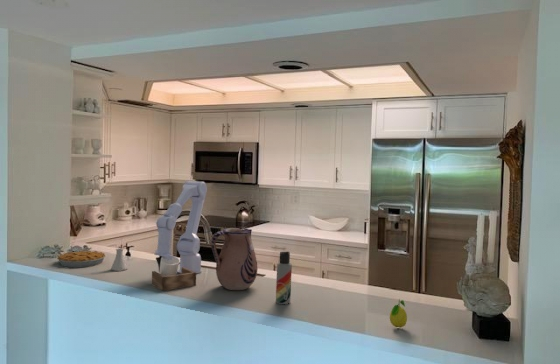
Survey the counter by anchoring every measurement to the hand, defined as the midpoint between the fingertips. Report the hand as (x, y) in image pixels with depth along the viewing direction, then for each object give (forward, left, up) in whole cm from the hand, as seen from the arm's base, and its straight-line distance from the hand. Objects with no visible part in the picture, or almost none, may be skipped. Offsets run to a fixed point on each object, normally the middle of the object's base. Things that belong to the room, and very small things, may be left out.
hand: (162, 273), depth 191 cm
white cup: (-1, +2, -3) cm, 4 cm away
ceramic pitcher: (-20, +27, -3) cm, 34 cm away
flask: (+9, -29, -3) cm, 30 cm away
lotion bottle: (-26, +53, -3) cm, 59 cm away
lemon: (-41, +95, -3) cm, 104 cm away
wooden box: (-1, +9, -3) cm, 10 cm away
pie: (+20, -52, -4) cm, 56 cm away
